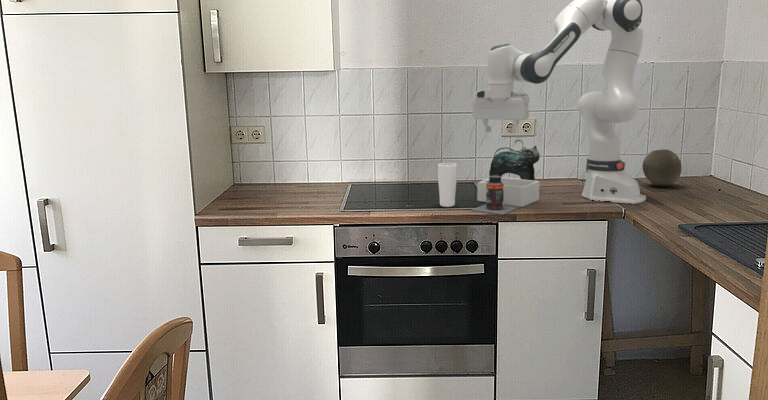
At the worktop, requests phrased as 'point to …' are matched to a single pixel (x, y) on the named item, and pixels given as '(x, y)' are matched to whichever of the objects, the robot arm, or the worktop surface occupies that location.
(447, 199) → the drinking glass
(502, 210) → the mat
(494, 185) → the supplement bottle
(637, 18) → the robot arm
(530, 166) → the ceramic cat
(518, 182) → the box
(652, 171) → the cantaloupe
